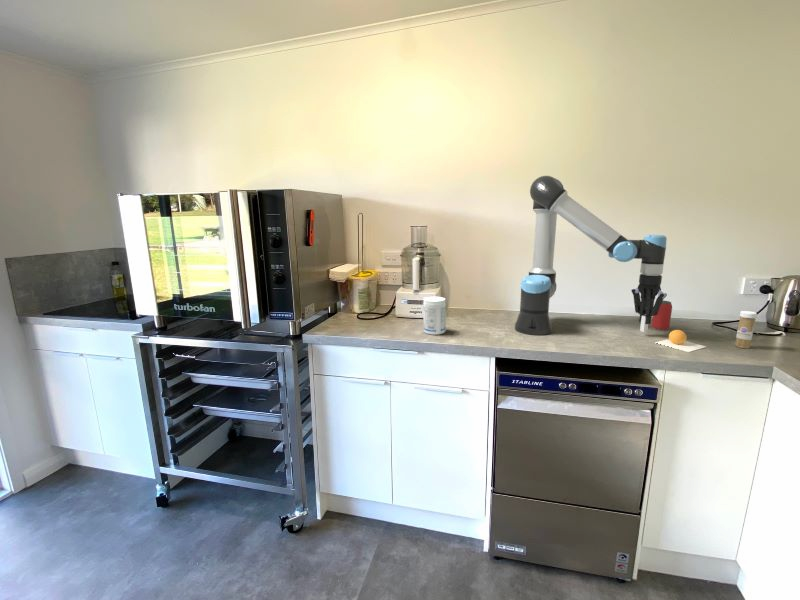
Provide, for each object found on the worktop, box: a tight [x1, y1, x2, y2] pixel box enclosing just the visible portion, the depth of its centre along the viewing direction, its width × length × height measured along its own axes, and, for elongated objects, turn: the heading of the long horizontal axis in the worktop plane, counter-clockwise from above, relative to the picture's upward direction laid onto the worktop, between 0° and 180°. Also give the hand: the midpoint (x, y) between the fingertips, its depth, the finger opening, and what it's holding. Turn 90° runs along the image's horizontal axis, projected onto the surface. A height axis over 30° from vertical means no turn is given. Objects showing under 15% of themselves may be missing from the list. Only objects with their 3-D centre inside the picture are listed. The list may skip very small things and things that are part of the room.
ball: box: [668, 329, 687, 344], centre depth 147 cm, size 6×6×6 cm
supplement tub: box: [422, 296, 447, 336], centre depth 165 cm, size 10×10×15 cm
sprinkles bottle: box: [734, 310, 758, 349], centre depth 143 cm, size 5×5×14 cm
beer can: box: [651, 300, 673, 331], centre depth 168 cm, size 7×7×12 cm
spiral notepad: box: [654, 338, 707, 353], centre depth 147 cm, size 12×12×1 cm
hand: (643, 331), depth 159 cm, fingers closed
